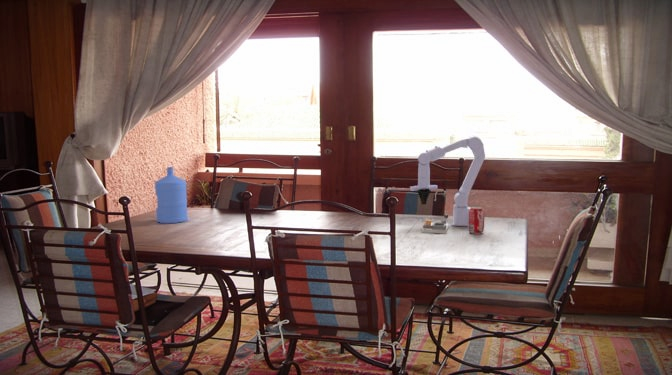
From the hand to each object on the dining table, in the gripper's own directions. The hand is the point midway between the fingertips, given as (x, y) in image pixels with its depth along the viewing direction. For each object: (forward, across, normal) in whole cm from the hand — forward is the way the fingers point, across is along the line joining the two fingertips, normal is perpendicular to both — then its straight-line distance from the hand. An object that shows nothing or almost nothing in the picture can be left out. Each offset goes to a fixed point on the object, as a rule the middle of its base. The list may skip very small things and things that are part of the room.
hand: (423, 204), depth 309 cm
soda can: (+10, +10, -30) cm, 33 cm away
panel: (+10, -2, -15) cm, 18 cm away
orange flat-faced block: (+8, -7, -16) cm, 19 cm away
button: (+8, -3, -20) cm, 22 cm away
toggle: (+7, +3, -13) cm, 15 cm away
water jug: (+10, -114, +61) cm, 130 cm away
